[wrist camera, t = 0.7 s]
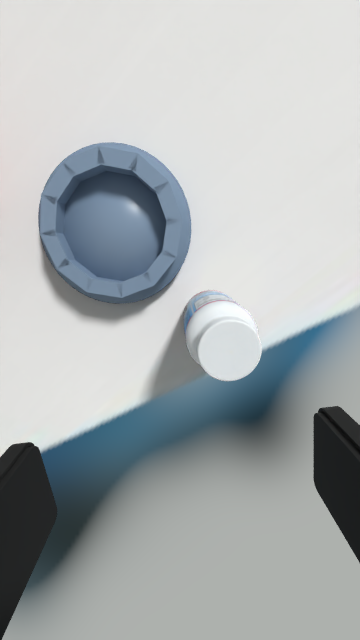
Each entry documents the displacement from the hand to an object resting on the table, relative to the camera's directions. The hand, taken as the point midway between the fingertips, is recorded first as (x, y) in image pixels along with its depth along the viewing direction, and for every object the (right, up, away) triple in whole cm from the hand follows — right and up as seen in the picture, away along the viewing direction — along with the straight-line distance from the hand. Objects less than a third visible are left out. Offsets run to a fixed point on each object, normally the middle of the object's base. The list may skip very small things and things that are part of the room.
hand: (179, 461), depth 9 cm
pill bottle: (+3, +5, +21) cm, 22 cm away
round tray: (-6, +14, +18) cm, 24 cm away
